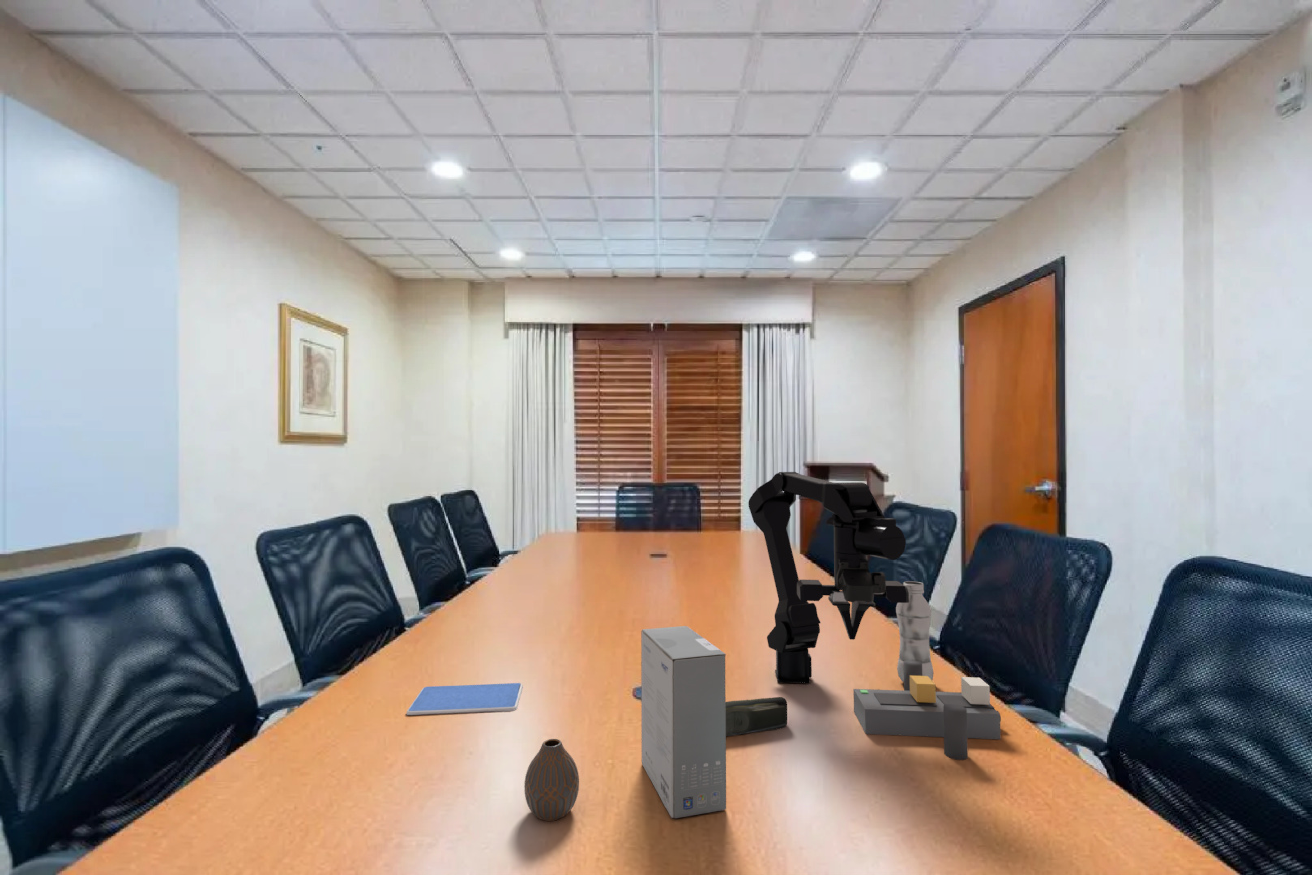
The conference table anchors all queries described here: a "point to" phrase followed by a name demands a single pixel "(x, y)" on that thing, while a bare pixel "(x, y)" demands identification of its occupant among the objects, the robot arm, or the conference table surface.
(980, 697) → the toggle ivory
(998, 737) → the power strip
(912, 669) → the cylinder
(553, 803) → the vase
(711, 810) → the hard drive box
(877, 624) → the conference table surface
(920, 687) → the toggle amber
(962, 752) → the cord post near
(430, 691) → the tablet computer
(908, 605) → the plastic bottle
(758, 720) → the dark green rounded bar
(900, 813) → the conference table surface
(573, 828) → the conference table surface
